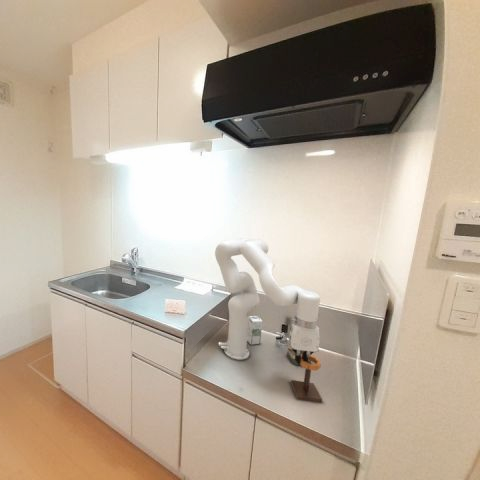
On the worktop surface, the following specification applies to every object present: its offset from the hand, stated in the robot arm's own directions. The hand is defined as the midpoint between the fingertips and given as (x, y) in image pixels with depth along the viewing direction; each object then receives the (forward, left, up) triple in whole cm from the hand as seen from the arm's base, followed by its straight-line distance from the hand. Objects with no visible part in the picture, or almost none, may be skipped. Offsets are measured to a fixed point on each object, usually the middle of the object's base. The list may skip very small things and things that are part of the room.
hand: (300, 362), depth 105 cm
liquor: (+7, +22, -14) cm, 27 cm away
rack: (+3, 0, -14) cm, 14 cm away
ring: (+3, 0, 0) cm, 3 cm away
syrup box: (-13, +34, -14) cm, 39 cm away
